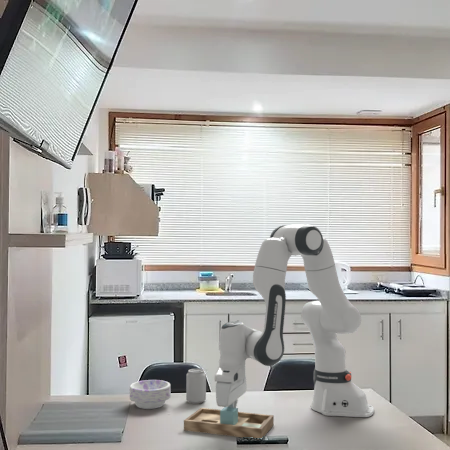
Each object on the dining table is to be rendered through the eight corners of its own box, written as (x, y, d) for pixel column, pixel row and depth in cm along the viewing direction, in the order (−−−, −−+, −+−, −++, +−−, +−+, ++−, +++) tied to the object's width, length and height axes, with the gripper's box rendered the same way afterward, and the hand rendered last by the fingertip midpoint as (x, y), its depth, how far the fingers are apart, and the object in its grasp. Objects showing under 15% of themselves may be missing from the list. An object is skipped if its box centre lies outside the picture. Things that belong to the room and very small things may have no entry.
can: (203, 404, 210) (203, 372, 210) (183, 403, 211) (184, 371, 212) (207, 399, 217) (208, 368, 218) (189, 398, 219) (189, 367, 219)
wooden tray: (273, 425, 186) (273, 415, 186) (261, 439, 172) (261, 429, 172) (201, 417, 195) (201, 407, 195) (183, 430, 181) (183, 420, 181)
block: (237, 422, 183) (237, 408, 183) (233, 426, 178) (233, 412, 179) (225, 420, 184) (225, 406, 184) (220, 424, 180) (220, 410, 180)
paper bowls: (130, 413, 199) (131, 390, 200) (128, 401, 214) (128, 380, 214) (173, 410, 203) (173, 388, 203) (167, 399, 218) (167, 378, 218)
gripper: (233, 364, 196) (233, 404, 196) (212, 377, 177) (212, 421, 177) (250, 365, 194) (251, 405, 194) (231, 378, 175) (231, 423, 174)
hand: (232, 413), depth 185 cm, fingers closed
